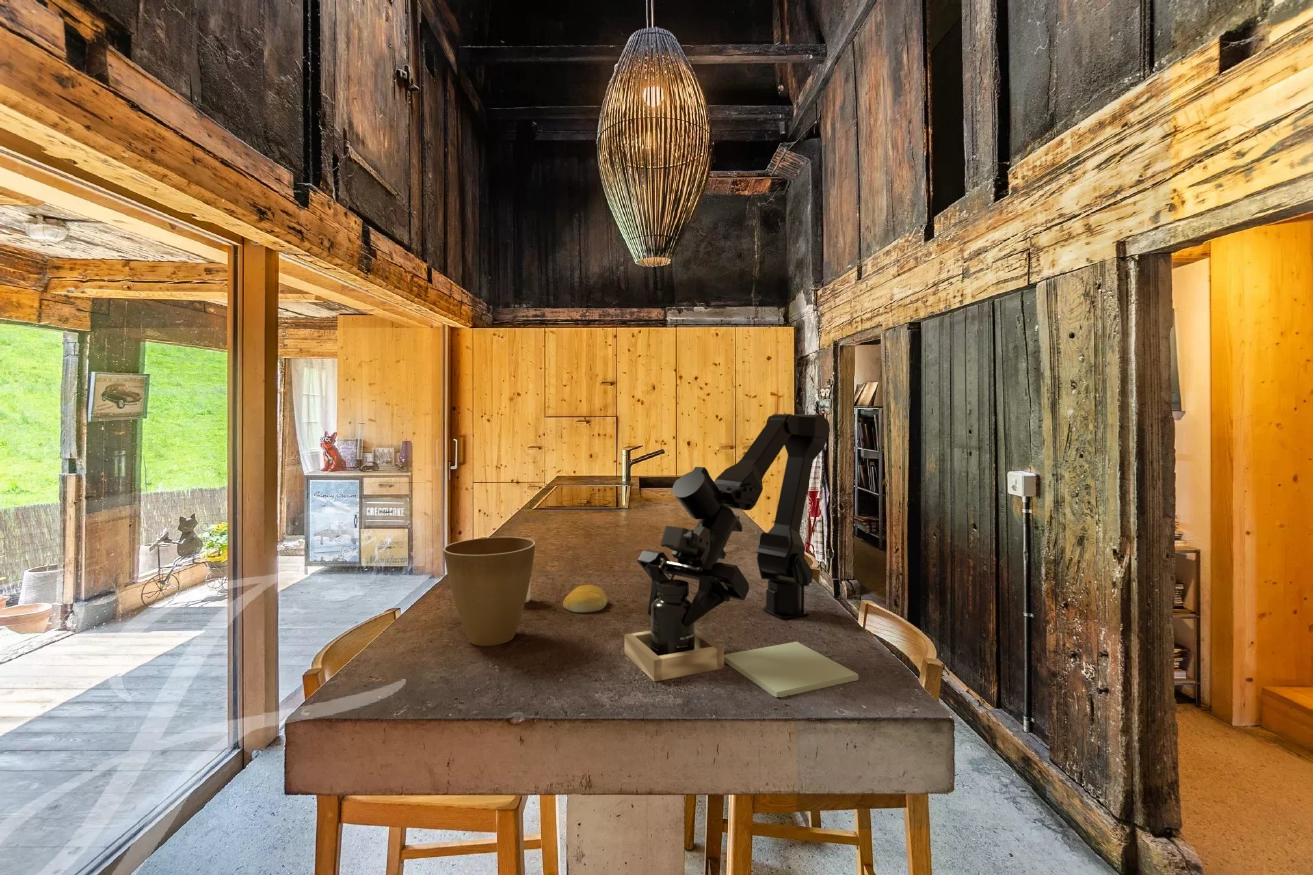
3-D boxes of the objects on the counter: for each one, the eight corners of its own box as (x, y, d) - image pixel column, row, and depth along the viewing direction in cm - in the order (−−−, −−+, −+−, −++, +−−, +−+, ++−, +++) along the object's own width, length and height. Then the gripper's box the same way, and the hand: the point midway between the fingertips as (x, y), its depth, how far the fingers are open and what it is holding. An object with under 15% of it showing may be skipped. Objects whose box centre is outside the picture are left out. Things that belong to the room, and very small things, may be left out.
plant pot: (496, 618, 111) (496, 533, 111) (553, 635, 102) (553, 542, 102) (425, 642, 99) (424, 546, 99) (483, 663, 90) (482, 557, 90)
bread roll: (558, 613, 115) (558, 592, 115) (573, 599, 124) (573, 580, 124) (600, 615, 114) (599, 594, 114) (612, 602, 122) (611, 582, 122)
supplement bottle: (691, 671, 87) (691, 589, 87) (646, 667, 89) (646, 587, 88) (697, 653, 94) (698, 578, 94) (655, 650, 95) (655, 575, 95)
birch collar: (688, 642, 99) (688, 624, 99) (724, 668, 88) (724, 647, 88) (624, 653, 94) (624, 634, 94) (653, 681, 84) (653, 660, 84)
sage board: (796, 646, 97) (796, 641, 97) (858, 679, 84) (858, 674, 84) (722, 660, 91) (722, 654, 91) (776, 698, 79) (776, 692, 79)
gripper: (644, 501, 100) (596, 579, 92) (739, 511, 88) (693, 603, 80) (674, 541, 106) (631, 617, 98) (766, 556, 94) (726, 645, 86)
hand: (667, 620), depth 90 cm, fingers closed on supplement bottle, 7 cm apart
